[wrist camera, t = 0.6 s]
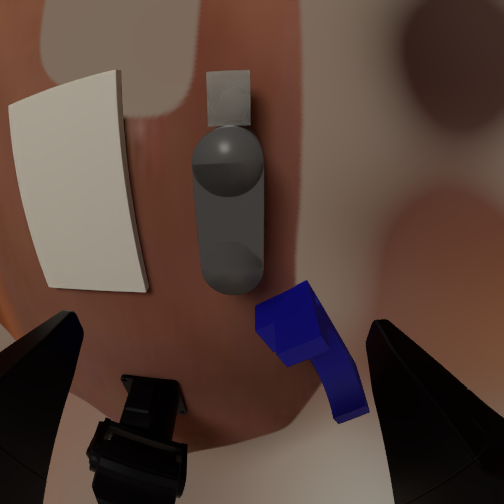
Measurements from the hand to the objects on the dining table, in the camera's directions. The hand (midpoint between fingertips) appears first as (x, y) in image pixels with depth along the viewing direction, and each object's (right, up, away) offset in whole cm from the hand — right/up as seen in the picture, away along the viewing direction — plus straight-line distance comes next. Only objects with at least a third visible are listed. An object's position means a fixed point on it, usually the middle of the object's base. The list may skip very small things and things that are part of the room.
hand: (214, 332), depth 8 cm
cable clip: (+6, -5, +17) cm, 19 cm away
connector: (0, +7, +10) cm, 12 cm away
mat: (-12, +7, +10) cm, 17 cm away
